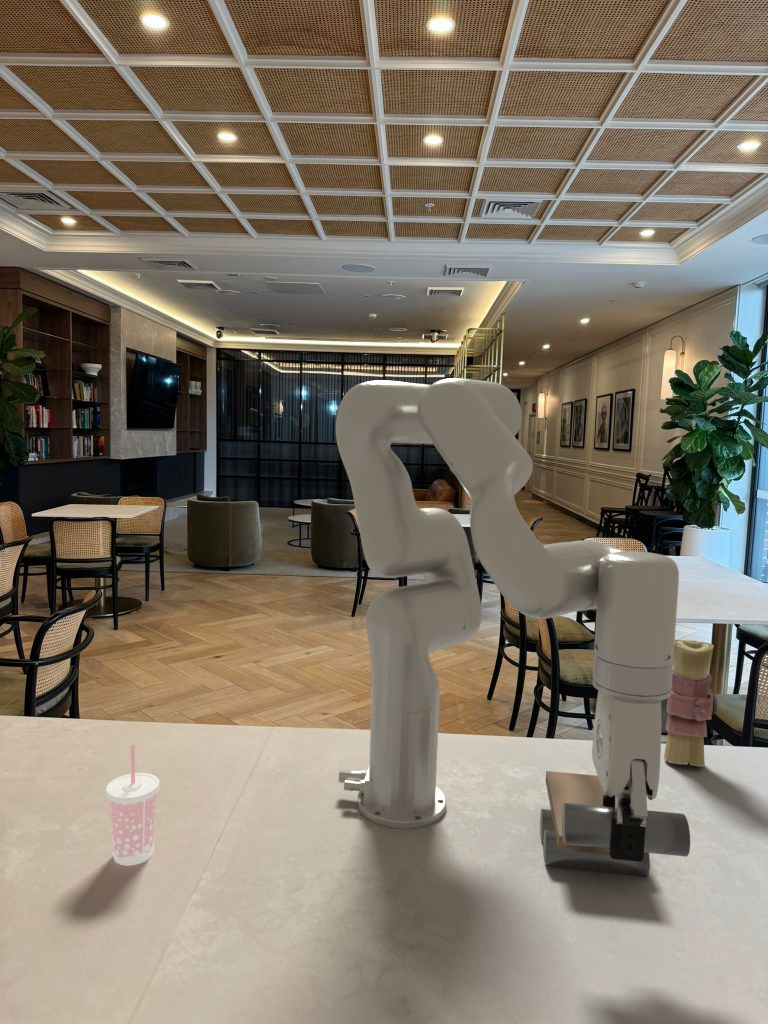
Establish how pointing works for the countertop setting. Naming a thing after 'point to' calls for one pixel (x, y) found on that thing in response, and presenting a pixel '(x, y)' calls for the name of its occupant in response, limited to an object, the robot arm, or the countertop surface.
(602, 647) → the robot arm
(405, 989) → the countertop surface
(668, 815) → the roller
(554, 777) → the slab
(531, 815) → the countertop surface
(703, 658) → the scroll
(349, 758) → the countertop surface
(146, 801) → the beverage cup
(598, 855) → the roller front
